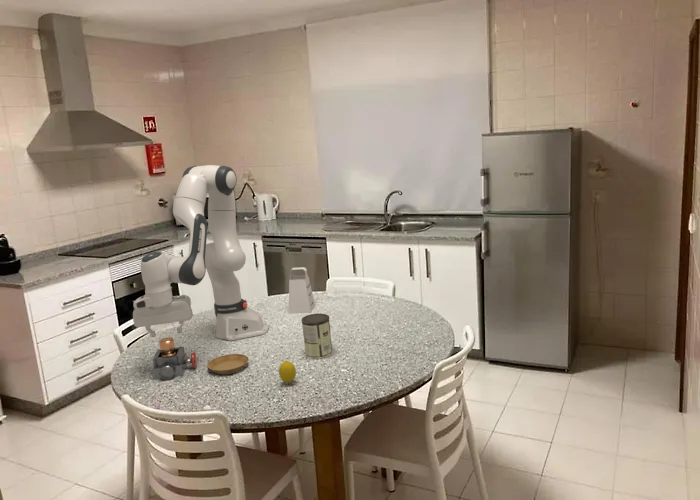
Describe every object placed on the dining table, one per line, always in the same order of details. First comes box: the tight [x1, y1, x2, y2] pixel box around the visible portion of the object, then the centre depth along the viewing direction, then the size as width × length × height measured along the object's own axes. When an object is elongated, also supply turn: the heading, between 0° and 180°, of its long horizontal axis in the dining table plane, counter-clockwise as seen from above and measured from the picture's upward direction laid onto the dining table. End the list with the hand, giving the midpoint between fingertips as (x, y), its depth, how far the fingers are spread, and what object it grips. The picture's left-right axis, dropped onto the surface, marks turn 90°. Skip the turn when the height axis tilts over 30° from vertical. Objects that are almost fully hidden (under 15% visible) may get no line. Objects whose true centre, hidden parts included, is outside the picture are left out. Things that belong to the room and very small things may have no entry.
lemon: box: [278, 360, 297, 384], centre depth 187 cm, size 6×6×8 cm
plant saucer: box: [206, 353, 250, 375], centre depth 205 cm, size 15×15×3 cm
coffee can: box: [301, 313, 333, 360], centre depth 209 cm, size 10×10×14 cm
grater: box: [288, 266, 316, 315], centre depth 263 cm, size 10×10×20 cm
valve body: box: [152, 346, 198, 381], centre depth 206 cm, size 16×14×7 cm
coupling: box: [158, 336, 176, 357], centre depth 205 cm, size 5×5×8 cm
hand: (166, 334), depth 204 cm, fingers open, 8 cm apart
